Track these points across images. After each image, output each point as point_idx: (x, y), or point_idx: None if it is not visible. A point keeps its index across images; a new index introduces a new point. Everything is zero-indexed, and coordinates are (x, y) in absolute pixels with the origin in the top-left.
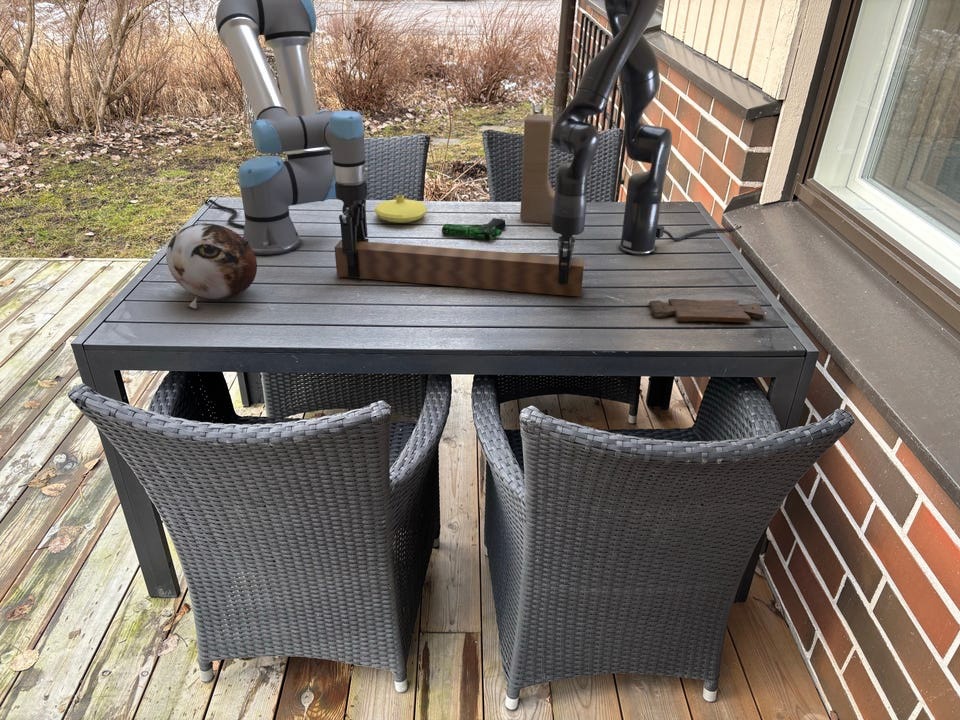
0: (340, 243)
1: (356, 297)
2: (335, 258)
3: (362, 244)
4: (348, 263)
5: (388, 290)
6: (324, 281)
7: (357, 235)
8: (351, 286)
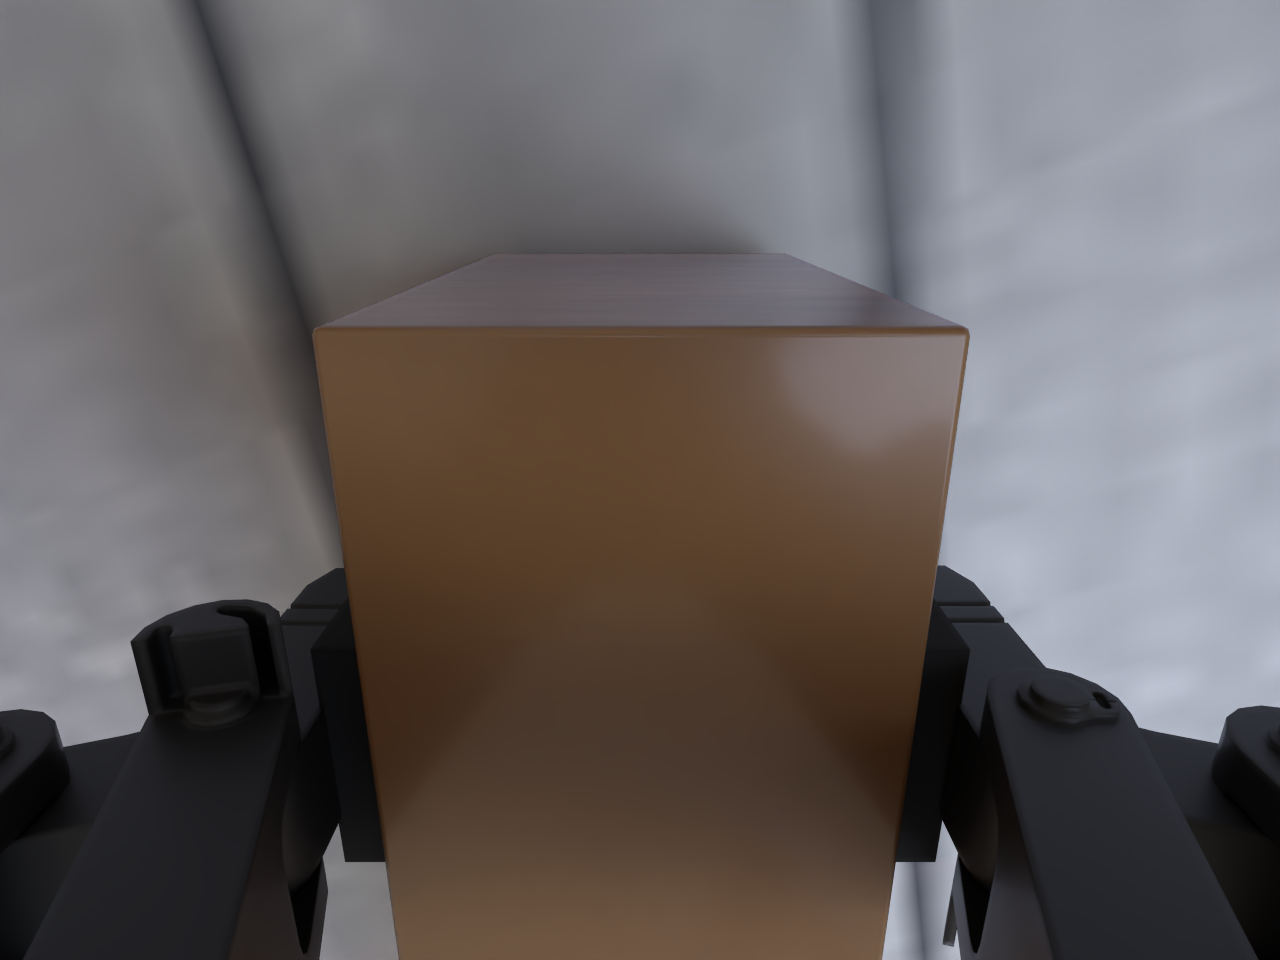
0: (651, 418)
1: (56, 654)
2: (418, 285)
3: (686, 946)
4: (298, 598)
5: (346, 889)
6: (341, 91)
7: (997, 916)
8: (311, 515)
